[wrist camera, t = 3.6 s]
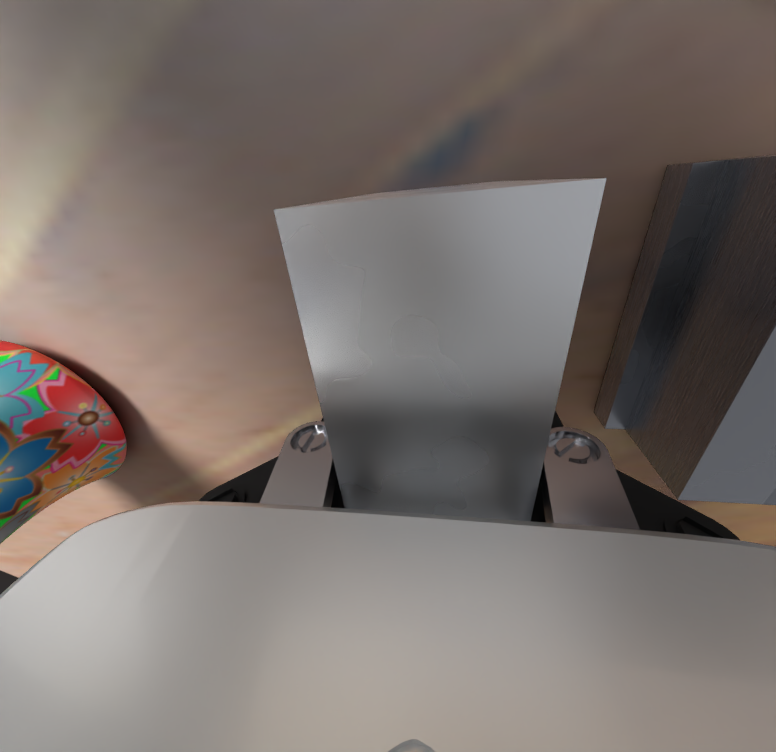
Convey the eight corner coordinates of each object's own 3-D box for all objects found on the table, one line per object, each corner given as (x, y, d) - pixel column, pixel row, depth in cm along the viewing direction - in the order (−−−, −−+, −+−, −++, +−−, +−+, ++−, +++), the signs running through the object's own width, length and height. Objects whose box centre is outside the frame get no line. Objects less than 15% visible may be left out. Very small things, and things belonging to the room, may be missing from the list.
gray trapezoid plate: (364, 194, 10) (245, 212, 4) (497, 181, 9) (606, 177, 3) (394, 473, 16) (367, 648, 10) (475, 476, 15) (498, 666, 9)
